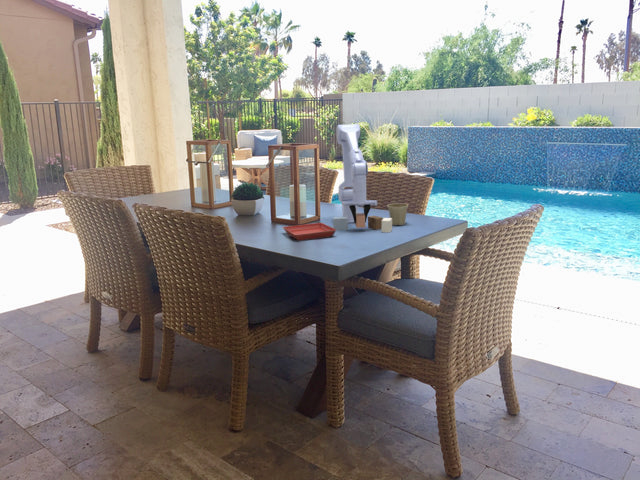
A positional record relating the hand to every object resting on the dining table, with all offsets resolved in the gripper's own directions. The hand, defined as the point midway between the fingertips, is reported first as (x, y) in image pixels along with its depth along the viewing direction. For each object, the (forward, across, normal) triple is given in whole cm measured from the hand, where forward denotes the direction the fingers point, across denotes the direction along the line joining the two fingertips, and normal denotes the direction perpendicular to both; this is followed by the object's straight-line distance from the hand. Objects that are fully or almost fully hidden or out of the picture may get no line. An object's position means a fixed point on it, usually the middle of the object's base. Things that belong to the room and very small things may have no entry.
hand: (360, 222), depth 225 cm
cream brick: (+3, +11, -3) cm, 12 cm away
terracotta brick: (+2, 0, 0) cm, 2 cm away
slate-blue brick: (+3, -8, +5) cm, 10 cm away
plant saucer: (+4, -22, -4) cm, 23 cm away
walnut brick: (+3, +7, +3) cm, 8 cm away
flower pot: (+4, +18, +9) cm, 20 cm away
